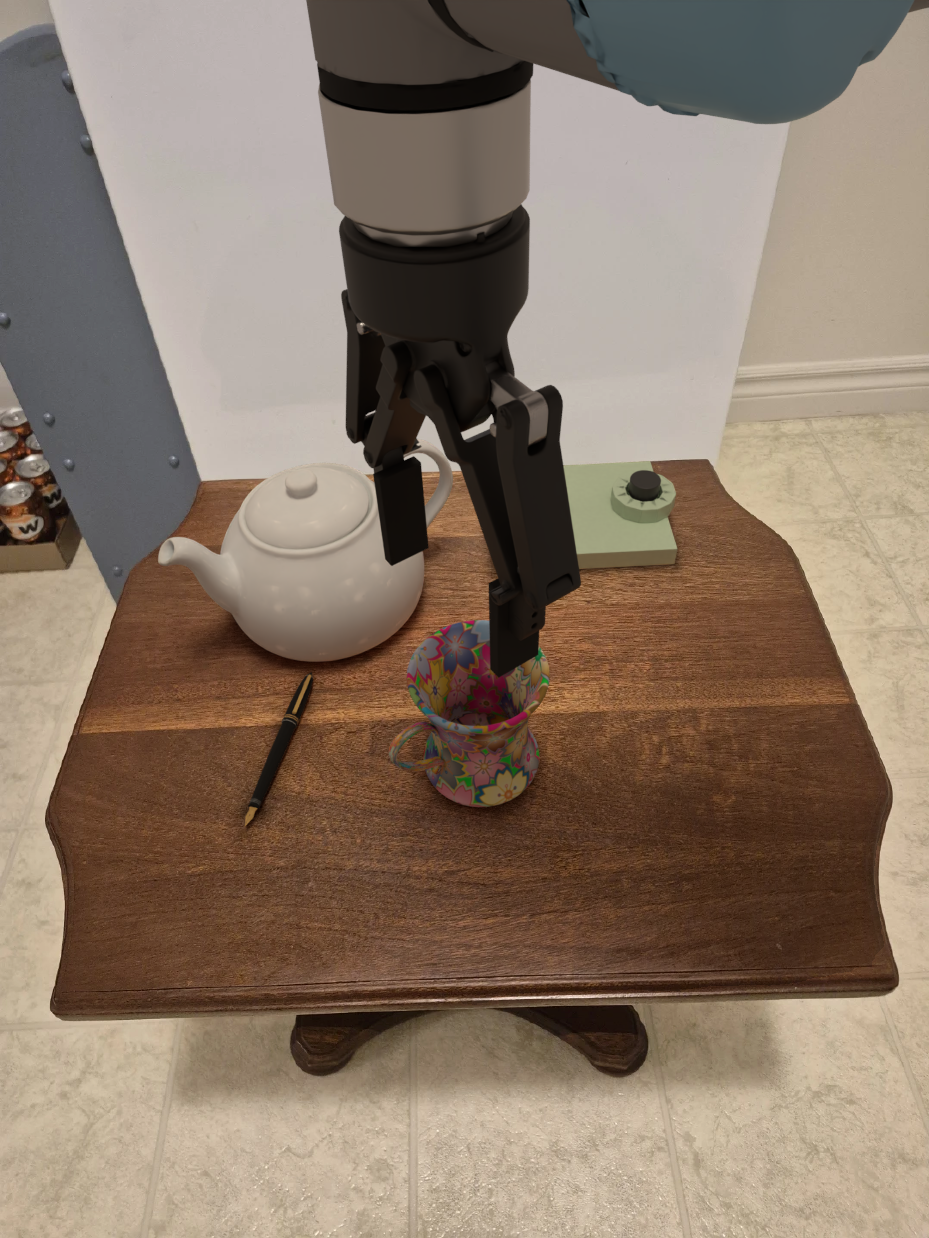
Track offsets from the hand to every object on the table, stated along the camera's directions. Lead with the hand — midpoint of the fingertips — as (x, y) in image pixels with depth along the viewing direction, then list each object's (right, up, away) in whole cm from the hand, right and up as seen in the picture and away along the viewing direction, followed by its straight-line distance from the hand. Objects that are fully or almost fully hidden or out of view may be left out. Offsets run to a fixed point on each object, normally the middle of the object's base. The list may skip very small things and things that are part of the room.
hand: (457, 604), depth 49 cm
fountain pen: (-13, -11, +15) cm, 23 cm away
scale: (+11, +8, +32) cm, 35 cm away
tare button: (+17, +11, +29) cm, 36 cm away
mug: (+1, -12, +13) cm, 18 cm away
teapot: (-11, +1, +26) cm, 28 cm away
